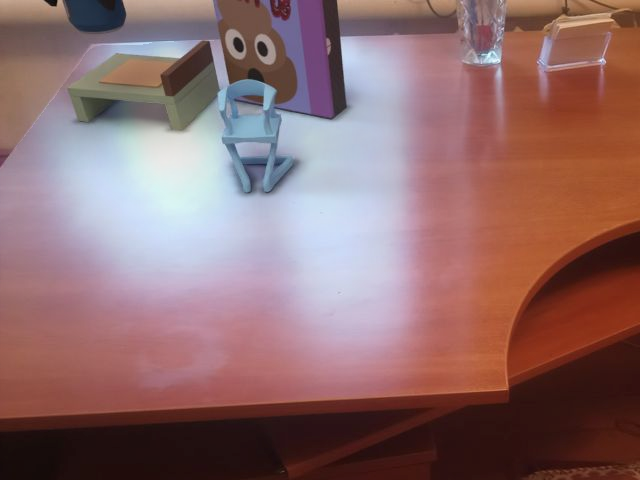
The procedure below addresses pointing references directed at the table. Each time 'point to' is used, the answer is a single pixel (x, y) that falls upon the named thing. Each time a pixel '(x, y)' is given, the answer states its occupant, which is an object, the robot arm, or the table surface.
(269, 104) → the chair
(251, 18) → the cereal box
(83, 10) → the soda can
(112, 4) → the robot arm
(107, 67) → the shelf
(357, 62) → the table surface
